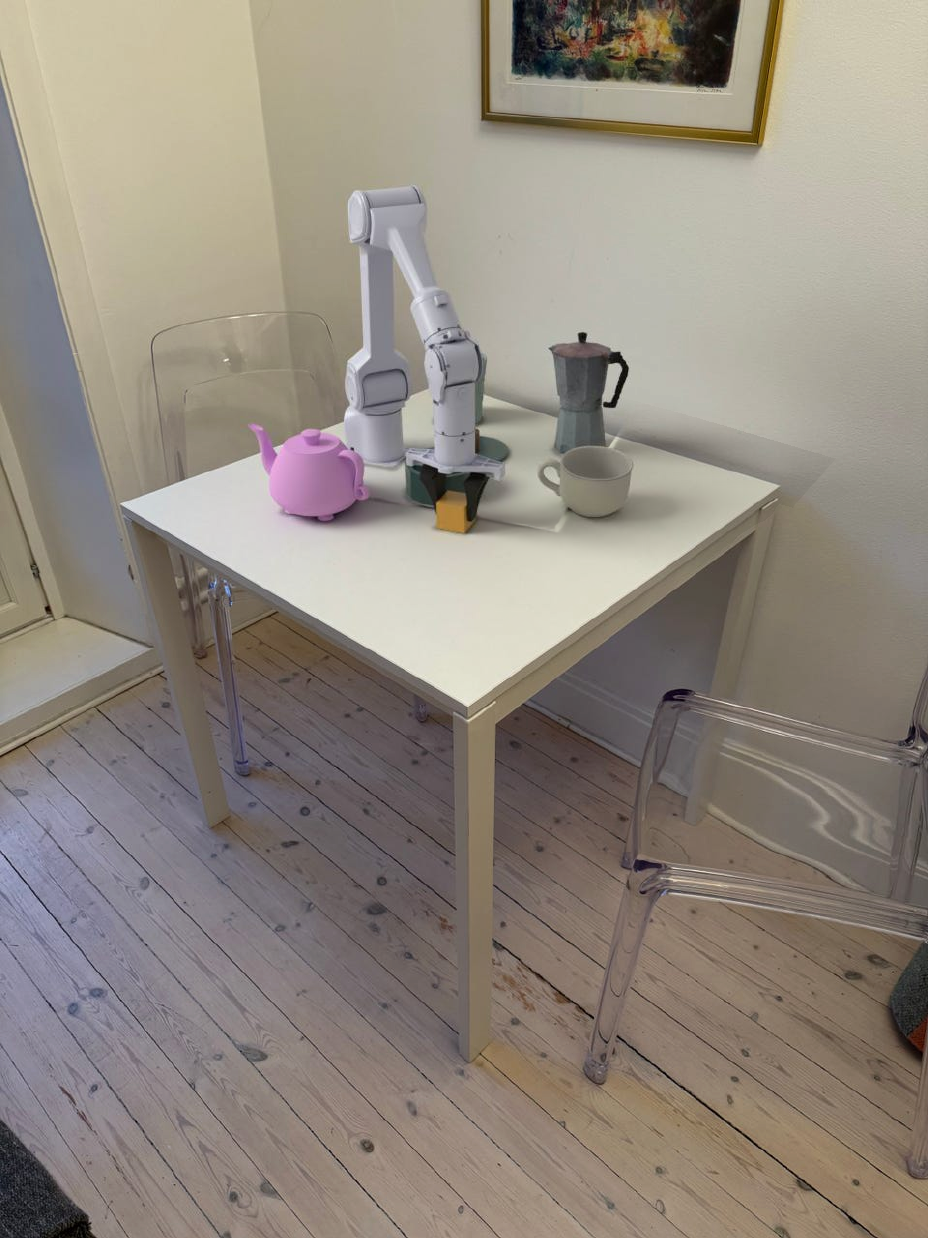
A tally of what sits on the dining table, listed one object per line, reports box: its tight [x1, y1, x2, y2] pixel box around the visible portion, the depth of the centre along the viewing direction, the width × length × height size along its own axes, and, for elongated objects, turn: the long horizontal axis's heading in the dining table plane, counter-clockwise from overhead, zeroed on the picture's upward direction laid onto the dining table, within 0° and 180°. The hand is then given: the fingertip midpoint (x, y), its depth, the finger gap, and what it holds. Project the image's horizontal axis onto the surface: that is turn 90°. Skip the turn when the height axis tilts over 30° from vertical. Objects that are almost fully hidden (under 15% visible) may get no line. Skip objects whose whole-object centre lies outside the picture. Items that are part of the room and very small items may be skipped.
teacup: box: [537, 446, 634, 518], centre depth 133 cm, size 14×11×8 cm
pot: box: [404, 446, 470, 510], centre depth 139 cm, size 11×11×5 cm
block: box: [435, 490, 476, 534], centre depth 130 cm, size 4×4×4 cm
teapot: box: [247, 422, 371, 522], centre depth 134 cm, size 20×14×12 cm
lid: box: [475, 427, 509, 462], centre depth 151 cm, size 12×12×4 cm
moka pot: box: [548, 331, 630, 455], centre depth 148 cm, size 10×15×20 cm, turn 54°
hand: (455, 515), depth 131 cm, fingers closed on block, 4 cm apart
